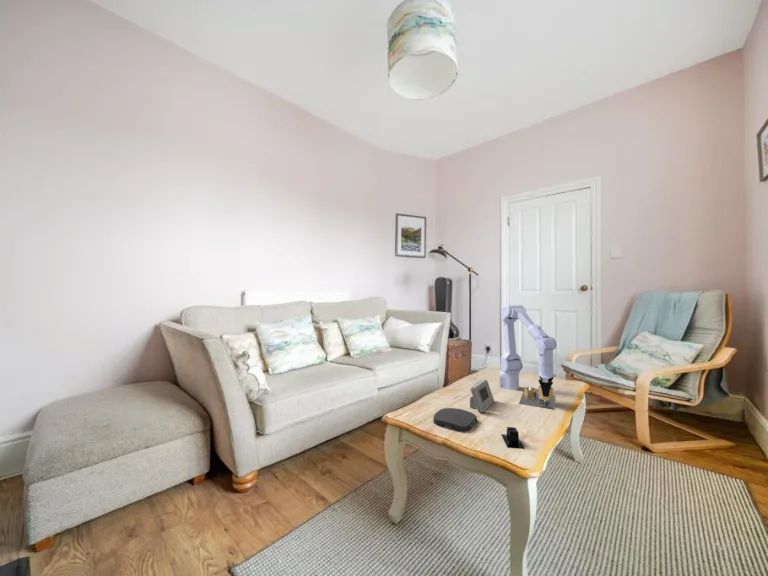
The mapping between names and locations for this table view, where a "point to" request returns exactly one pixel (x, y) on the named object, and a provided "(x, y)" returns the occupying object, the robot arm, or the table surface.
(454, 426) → the media streaming box
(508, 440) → the block on black plate
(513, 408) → the table surface
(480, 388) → the digital clock
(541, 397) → the brass octagonal sleeve
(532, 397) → the plate
